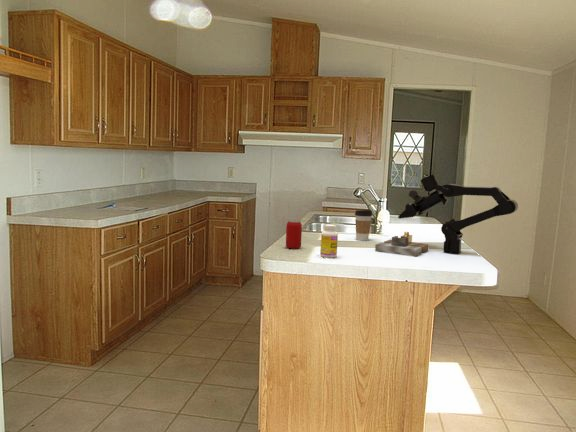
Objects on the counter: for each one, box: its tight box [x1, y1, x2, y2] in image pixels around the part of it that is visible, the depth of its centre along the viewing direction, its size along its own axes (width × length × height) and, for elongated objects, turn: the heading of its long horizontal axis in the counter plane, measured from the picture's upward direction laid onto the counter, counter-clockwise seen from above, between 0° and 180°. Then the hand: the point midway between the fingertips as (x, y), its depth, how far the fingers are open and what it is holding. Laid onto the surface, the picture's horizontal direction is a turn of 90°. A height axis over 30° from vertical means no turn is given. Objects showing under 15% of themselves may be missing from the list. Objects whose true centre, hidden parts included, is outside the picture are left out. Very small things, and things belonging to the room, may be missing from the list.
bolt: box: [400, 231, 413, 243], centre depth 221 cm, size 3×7×5 cm, turn 148°
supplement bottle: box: [319, 223, 339, 259], centre depth 198 cm, size 7×7×13 cm
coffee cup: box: [354, 209, 373, 242], centre depth 244 cm, size 8×8×15 cm
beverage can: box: [285, 219, 303, 250], centre depth 215 cm, size 7×7×12 cm
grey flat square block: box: [374, 235, 429, 257], centre depth 217 cm, size 18×18×6 cm
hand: (401, 216), depth 230 cm, fingers open, 9 cm apart
